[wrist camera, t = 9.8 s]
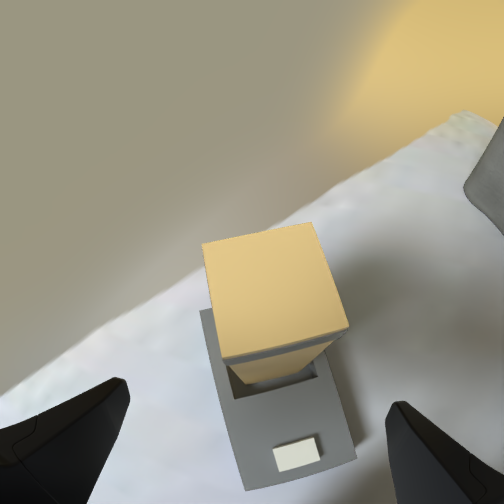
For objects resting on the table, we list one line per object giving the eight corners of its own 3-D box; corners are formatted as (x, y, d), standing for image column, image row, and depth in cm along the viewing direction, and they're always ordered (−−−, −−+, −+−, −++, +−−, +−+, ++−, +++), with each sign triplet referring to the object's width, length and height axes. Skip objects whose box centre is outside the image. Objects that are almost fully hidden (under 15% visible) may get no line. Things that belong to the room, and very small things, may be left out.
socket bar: (347, 453, 18) (359, 459, 15) (247, 482, 17) (244, 493, 14) (298, 296, 24) (303, 282, 22) (205, 320, 24) (197, 308, 21)
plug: (298, 373, 21) (351, 327, 9) (245, 385, 20) (220, 359, 8) (285, 324, 23) (312, 220, 11) (234, 335, 22) (200, 243, 10)
